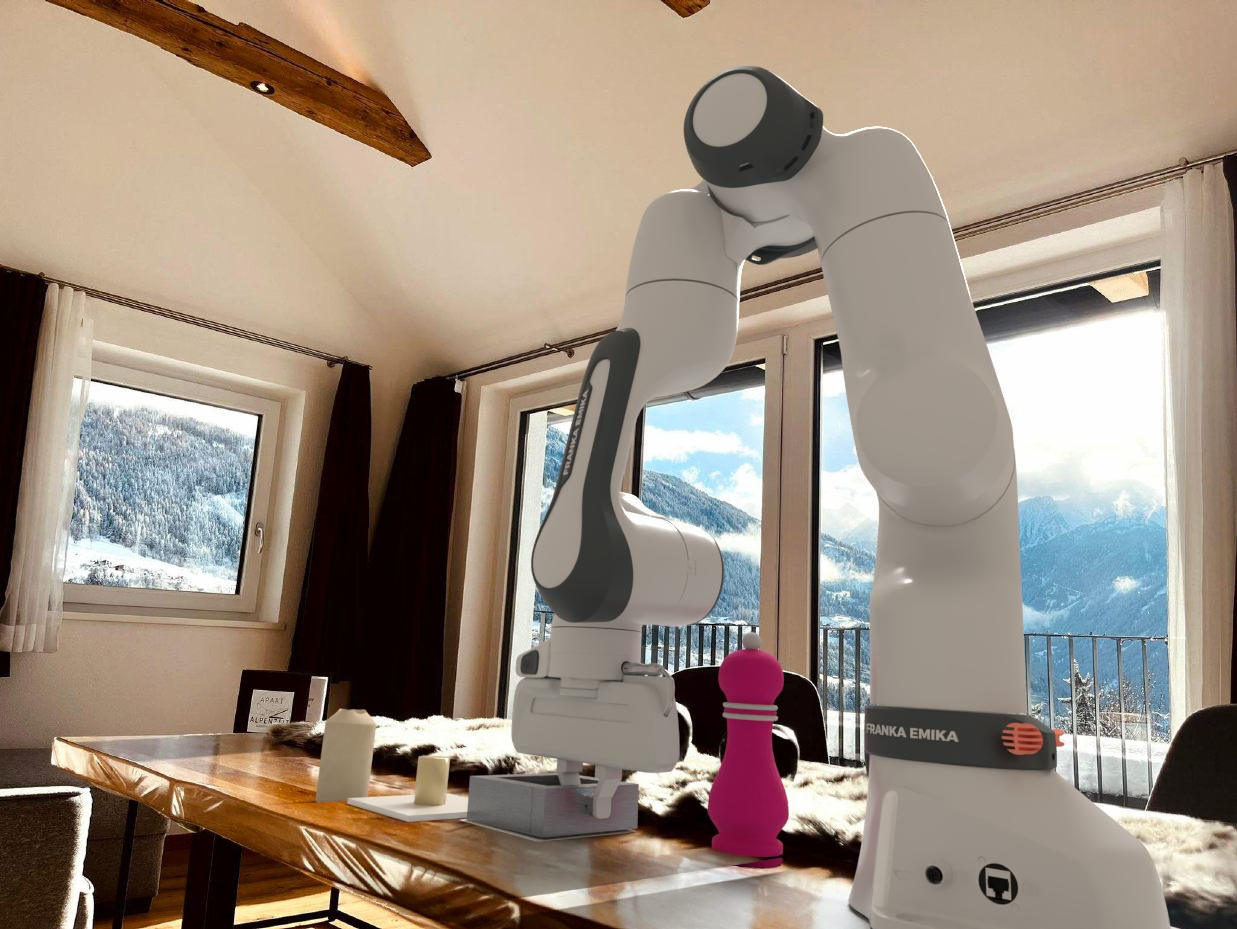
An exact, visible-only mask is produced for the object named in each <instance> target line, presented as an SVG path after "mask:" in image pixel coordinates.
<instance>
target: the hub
mask: <svg viewBox="0 0 1237 929" xmlns="http://www.w3.org/2000/svg"><path fill="white" fill-rule="evenodd" d="M450 761H451V757H448V756H443V755H442V756H440V755H439V756H438V755H421V756H420V755H419V756H418V760H417V767H416V768H417V769H416V777H415V787H414V789H415V790H414V794H403V795H385V796H368V797H361V798H348V801H346V802H347V805H350V806H353V807H357V808H360V809H363V810H367V811H370V812H374V813H377V814H380V815H384V816H387V817H391V818H393V819H397V820H400V821H404V822H407V823H414V822H415V823H416V822H427V821H429V822H430V821H439V820H442V821H443V820H454V819H455V820H456V819H467V809H468V797H464V796H460V795H457V794H453V793H449V792H448V782H449V781H448V780H449V772H450V771H449V770H450Z"/></svg>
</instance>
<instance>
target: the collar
mask: <svg viewBox="0 0 1237 929" xmlns="http://www.w3.org/2000/svg"><path fill="white" fill-rule="evenodd" d="M579 777H580V782H581V784H578V785H561V784H560V780H559V777H558V774H557V772H548V773H547V772H544V773H543V772H542V773H521V774H520V773H519V774H518V773H517V774H515V773H514V774H491V775H490V774H489V775H470V776H469V786H468V795H467V796H468V797H467V798H468V809H467V818H466V819H467V820H469V821H473V822H477V823H482V824H486V825H490V826H495V827H499V828H503V829H508V830H512V831H516V832H520V833H525V834H529V835H533V836H538V837H542V838H544V837H554V836H564V835H574V834H584V833H595V832H605V831H615V830H625V829H628V830H632V829H633V830H634V829H635V830H636V829H638V818H639V816H638V814H639V813H638V812H639V791H640V790H639V788H640V787H639V786H640V784H639V783H636V782H627V781H622V780H621V781H620V783H619V785H618V787H617V789H616V791H615V793H614V795H613V797H611V813H610V816H609V817H608V818H601V819H598V818H594V817H590V816H588V815H587V814H586V808H587V804H586V799H587V796H593V794H594V791H595V789H596V786H597V783H598V781H599V778H596V777H595V776H594V777H592V776H587V775H580V774H579Z"/></svg>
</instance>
